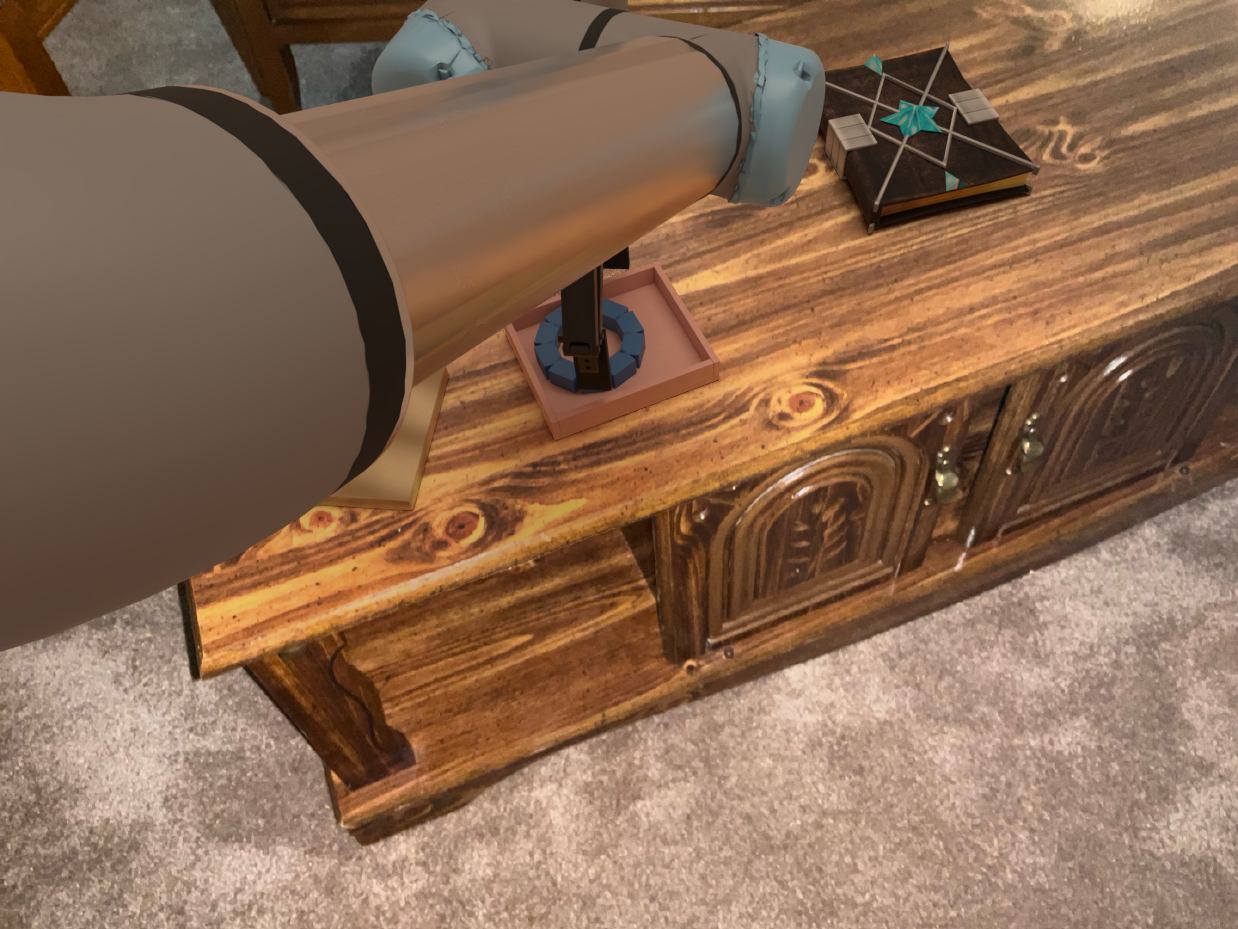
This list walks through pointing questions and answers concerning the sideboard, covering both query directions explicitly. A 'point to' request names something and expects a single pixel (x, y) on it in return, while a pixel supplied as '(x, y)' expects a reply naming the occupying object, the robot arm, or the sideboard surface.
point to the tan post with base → (399, 456)
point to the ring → (620, 362)
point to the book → (917, 138)
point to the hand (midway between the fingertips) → (605, 323)
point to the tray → (667, 363)
